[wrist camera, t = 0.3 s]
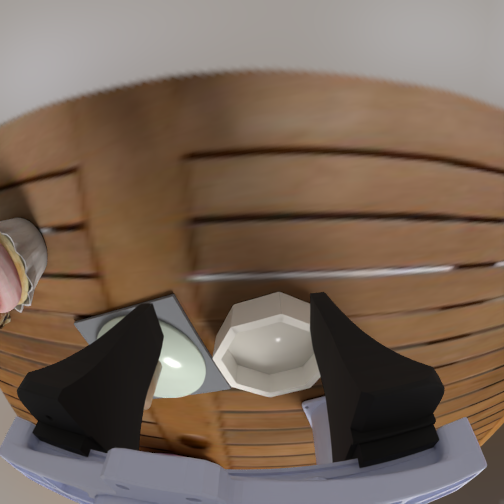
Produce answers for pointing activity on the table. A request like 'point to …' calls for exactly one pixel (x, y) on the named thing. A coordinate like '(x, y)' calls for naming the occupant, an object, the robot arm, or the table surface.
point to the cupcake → (20, 263)
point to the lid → (172, 364)
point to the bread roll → (4, 319)
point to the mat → (174, 316)
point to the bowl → (267, 346)
